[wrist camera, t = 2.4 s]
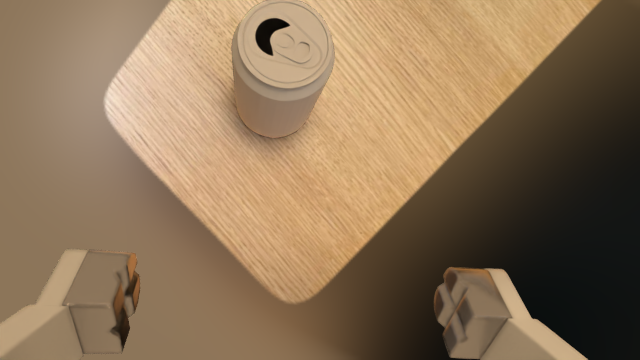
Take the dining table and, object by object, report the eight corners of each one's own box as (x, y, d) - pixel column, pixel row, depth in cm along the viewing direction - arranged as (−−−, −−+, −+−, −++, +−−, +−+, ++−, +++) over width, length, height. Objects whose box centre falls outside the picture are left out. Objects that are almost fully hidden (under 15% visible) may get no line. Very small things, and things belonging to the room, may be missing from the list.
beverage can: (257, 55, 37) (262, -30, 25) (322, 90, 38) (356, 24, 26) (222, 117, 36) (209, 59, 24) (290, 153, 37) (310, 113, 25)
